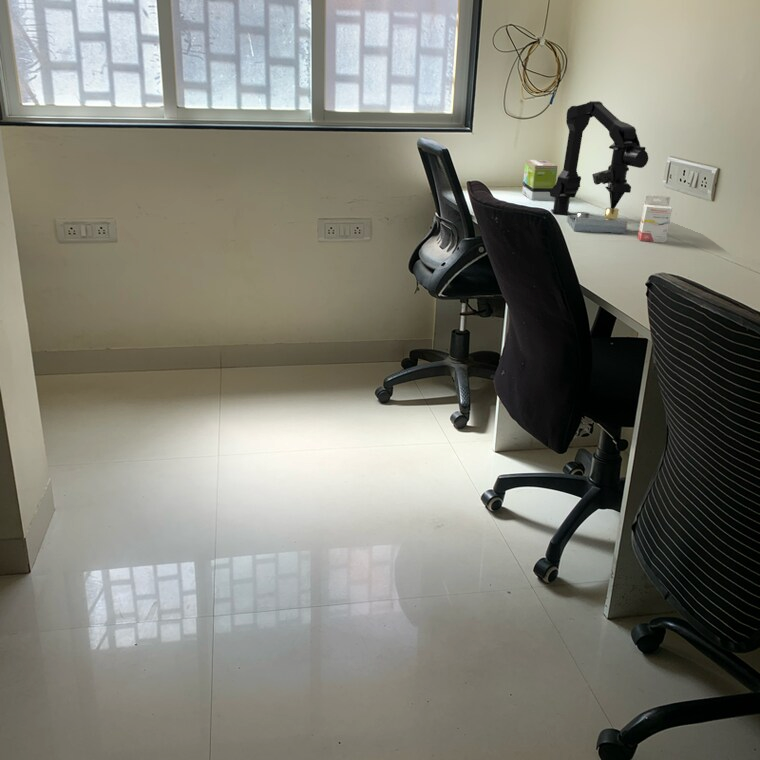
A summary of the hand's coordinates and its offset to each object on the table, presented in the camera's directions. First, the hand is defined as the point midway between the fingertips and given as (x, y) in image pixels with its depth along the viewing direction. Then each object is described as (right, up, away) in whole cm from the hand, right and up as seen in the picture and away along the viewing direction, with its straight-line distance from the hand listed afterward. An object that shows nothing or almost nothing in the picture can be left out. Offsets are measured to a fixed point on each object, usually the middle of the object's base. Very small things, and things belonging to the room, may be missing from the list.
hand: (612, 208), depth 278 cm
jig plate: (-5, -6, +3) cm, 9 cm away
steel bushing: (-10, -6, +3) cm, 12 cm away
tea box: (-16, +17, +55) cm, 60 cm away
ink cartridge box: (+10, -14, -12) cm, 21 cm away
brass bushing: (0, -7, +3) cm, 7 cm away
